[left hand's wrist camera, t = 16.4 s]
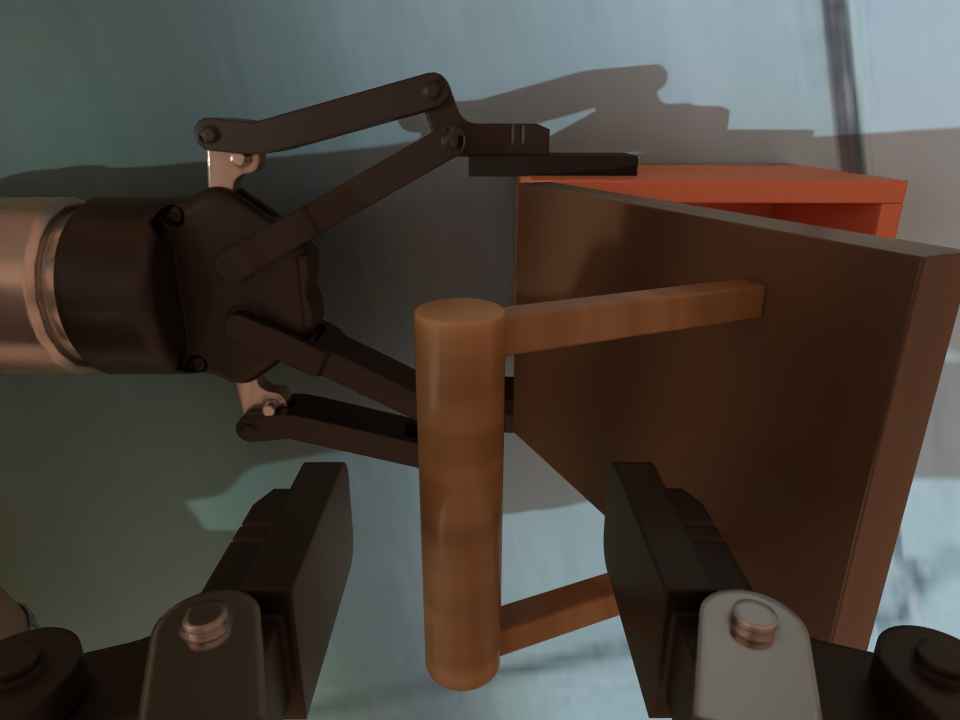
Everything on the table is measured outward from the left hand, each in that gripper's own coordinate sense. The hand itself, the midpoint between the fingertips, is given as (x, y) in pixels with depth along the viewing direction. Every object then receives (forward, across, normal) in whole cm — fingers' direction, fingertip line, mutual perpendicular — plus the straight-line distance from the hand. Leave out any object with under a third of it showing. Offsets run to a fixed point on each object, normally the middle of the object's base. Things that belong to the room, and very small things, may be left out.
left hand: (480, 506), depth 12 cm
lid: (+7, +5, 0) cm, 9 cm away
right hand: (+17, +6, 0) cm, 18 cm away
